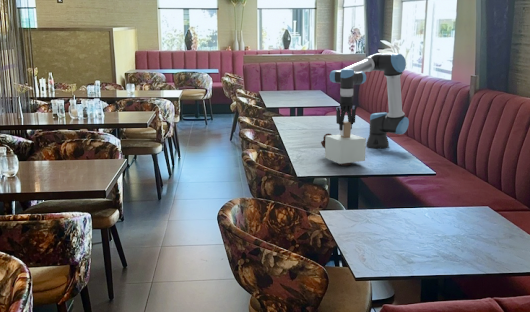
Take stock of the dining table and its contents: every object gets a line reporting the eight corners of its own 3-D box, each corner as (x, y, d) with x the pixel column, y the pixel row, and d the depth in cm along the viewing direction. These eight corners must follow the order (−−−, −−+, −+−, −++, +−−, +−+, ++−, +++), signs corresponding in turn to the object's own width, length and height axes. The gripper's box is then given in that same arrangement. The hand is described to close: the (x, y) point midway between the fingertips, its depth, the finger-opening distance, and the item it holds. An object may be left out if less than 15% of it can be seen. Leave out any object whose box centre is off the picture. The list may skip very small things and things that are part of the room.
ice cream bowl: (337, 158, 340) (338, 135, 337) (319, 158, 342) (320, 134, 339) (338, 155, 350) (339, 132, 347) (321, 154, 352) (322, 131, 349)
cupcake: (354, 162, 330) (354, 146, 328) (351, 166, 321) (351, 149, 319) (338, 161, 333) (338, 145, 331) (335, 165, 324) (335, 148, 322)
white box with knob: (349, 155, 337) (350, 119, 332) (365, 160, 322) (366, 123, 317) (324, 157, 330) (325, 120, 325) (340, 163, 315) (341, 125, 310)
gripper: (355, 94, 324) (354, 133, 330) (330, 95, 318) (329, 135, 323) (362, 95, 318) (361, 135, 323) (337, 97, 311) (336, 137, 316)
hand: (345, 135), depth 323 cm, fingers closed on white box with knob, 4 cm apart
